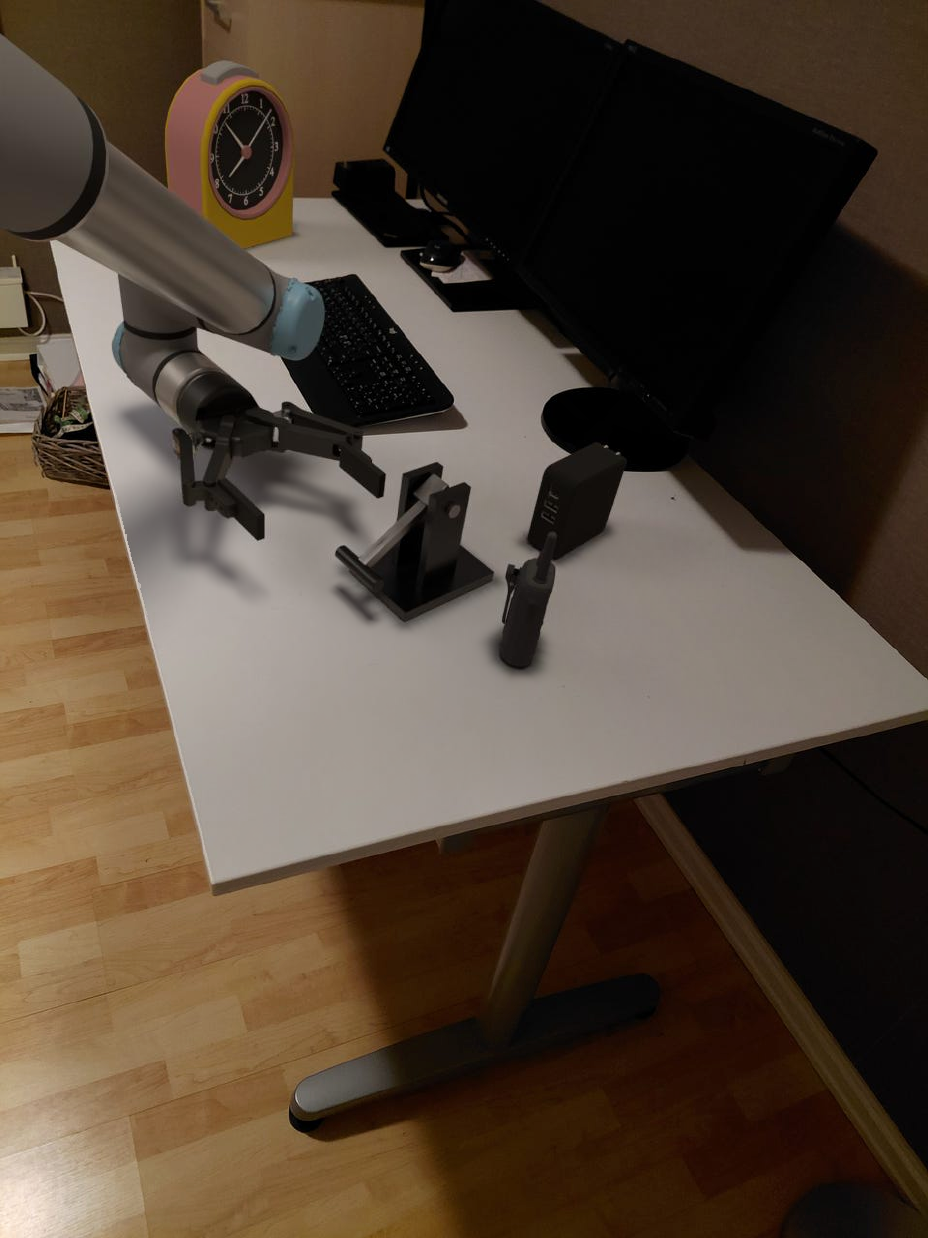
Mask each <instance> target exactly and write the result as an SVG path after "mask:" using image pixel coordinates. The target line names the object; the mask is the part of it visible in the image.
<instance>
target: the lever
mask: <svg viewBox="0 0 928 1238" xmlns="http://www.w3.org/2000/svg"><path fill="white" fill-rule="evenodd" d="M449 487H450V485H449V484H448V483H447V482H446V481H444V479H440V478H439V477H438V476H436V475H435V474H433V475H432V476H431V477H429V478H428V479H427V480H426V481H425V482H424V483H423V484H422V485H421V486H420V487H419V488H418V489H417V490H416V491H415V492H414V493H413V494H414V496H415V497H416V499H417V501H418V502H417V503H416V504H415V505H414V506H413V507H411V508H410V509H409V510H408V511H407V512H406V513H405V514H404V515H403V516H402V517H401V518H400V519H399V520H398V521H397V520H396V521H395V523H394V524H392V526H391V527H390V528H388V530H386V531H385V532H384V533H383V534H382V535H381V536H380V537H379V538H378V539H377V540H376V541H375V542H374V543H373V544H371V546H370V547H369V548H368V549H367V550H366V551H365V552H364V553H363V554H362V555H361V556H358V555H357V554H356V553H355V552H354V551H352V549H350V548H349V547H348V546H347V545H345V544H342V545H340V546H339V547H337V548H336V549H335V551H334V557H335V558H336V559H337V560H339V561H340V562H341V563H342V564H343V565H344V566H345V567H346V568H347V569H348V570H349V569H350V570H351V571H352V572H353V573H354V574H355V575H356V576H357V577H358V578H359V579H361V580H362V581H363V582H364V583H365V584H366V585H367V586H368V587H369V588H370V589H372V590H373V591H374V592H378V591H380V590H381V589H382V588H383V587H384V585H385V581H384V579H383V578H381V577H380V576H379V575H378V574H377V573H376V572H375V571H374V570H372V569H371V567H372V566H373V565H374V564H375V563H376V562H378V561H379V560H380V559H381V558H382V557H383V556H384V555H385V554H386V553H387V552H388V551H389V550H390V549H391V548H392V547H393V546H394V545H395V544H396V543H397V542H398V541H399V540H400V539H401V538H402V537H403V536H404V535H405V534H406V533H407V532H408V531H409V530H411V529H412V528H413V527H414V526H415V525H416V524H417V523H418V522H419V521H420V520H421V519H422V518H423V517H424V516H425V515H426V514H427V509H428V503H429V496H430V494H433V493H436V492H438V491H441V490H444V489H446V488H449Z"/></svg>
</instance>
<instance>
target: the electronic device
mask: <svg viewBox="0 0 928 1238" xmlns="http://www.w3.org/2000/svg"><path fill="white" fill-rule="evenodd" d="M627 462H628V460H627V458H626V457H625V456H623V455H621V452H619V451H618V452H615V451H614V450H612V449H610V448H609V446H608V445H607V444H606V445H603V444H601V443H600V442H598V441H596V442H593V443H590V444H588V445H586V446H585V447H583V448H580V449H579V450H577V451H575V452H572V453H571V454H568V455H566V456H565V457H563V458H561V459H557V460H556V461H554V462H552V463H551V464H549V465H548V466H547V467H546V468H545V470H544V471H543V474H542V477H541V481H540V485H539V489H538V493H537V498H536V501H535V505H534V509H533V513H532V517H531V521H530V524H529V529H528V533H527V538H526V539H527V541H528V542H529V543H531V544H533V545H534V546H535V547H537V548H539V549H540V550H541V551H543V548H544V545H545V542H546V539H547V536H548V534H549V533H550V532H555V533H556V535H557V538H556V543H555V547H554V551H553V556H552V558H554V559H555V560H556V559H560V558H561V557H563V556H564V555H565V554H567V553H569V552H571V551H573V550H574V549H575V548H577V547H579V546H580V545H582V544H584V543H585V542H587V541H588V540H591V539H592V538H594V537H595V536H597V535H599V534H601V533H602V532H603V531H604V529H605V528H606V526H607V523H608V521H609V519H610V515H611V513H612V509H613V505H614V502H615V500H616V496H617V493H618V490H619V487H620V485H621V483H622V482H621V481H622V478H623V475H624V473H625V470H626V466H627Z"/></svg>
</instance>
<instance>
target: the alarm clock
mask: <svg viewBox="0 0 928 1238" xmlns="http://www.w3.org/2000/svg"><path fill="white" fill-rule="evenodd" d="M166 117H167V118H166V121H165V128H164V133H165V134H164V151H165V152H164V153H165V166H166V181H167V188H168V189H169V190H170V191H171V192H173V193H174V194H175V195H177V196H178V197H179V198H180V199H182V200H183V201H184V202H185V203H187V204H188V205H189V206H190V207H192V208H193V209H194V210H195V211H197V212H198V213H199V214H201V215H202V216H203V217H204V218H206V219H207V220H208V221H209V222H211V223H212V224H213V225H214V226H216V227H217V228H218V229H219V230H221V231H222V232H223V233H225V234H226V235H227V236H228V237H230V238H231V239H232V240H233V241H235V242H236V243H237V244H238V245H240V246H241V247H242V248H244V249H247V248H251V247H254V246H258V245H261V244H264V243H269V242H273V241H277V240H280V239H284V238H288V237H291V236H293V230H294V229H293V225H294V223H293V222H294V174H295V173H294V171H295V140H294V139H295V138H294V128H293V124H292V120H291V115H290V112H289V110H288V108H287V106H286V104H285V101H284V100H283V97H282V96H280V94H279V93H278V92H277V90H275V88H274V87H273V86H272V85H270V84H268V83H267V82H265V81H263V80H261V79H260V74H259V73H258V72H257V71H256V70H254V69H253V68H251V67H249V66H245V65H244V64H240V63H237V62H235V61H231V60H225V59H224V60H223V59H222V60H217V61H215V62H213V63H211V64H209V65H208V66H206V67H204V68H201V69H198V70H197V71H194V73H192V74H191V75H189V76H188V77H187V78H186V79H185V80H184V81H183V83H182V84H181V85H180V87H179V88H178V90H176V92H175V94H174V97H173V99H172V102H171V103H170V106H169V108H168V112H167V116H166Z"/></svg>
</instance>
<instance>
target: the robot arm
mask: <svg viewBox="0 0 928 1238" xmlns="http://www.w3.org/2000/svg"><path fill="white" fill-rule="evenodd" d="M0 228H1V229H2V230H5V231H7V232H8V233H10V234H12V235H13V236H15V237H18V238H20V239H23V240H27V241H30V242H37V243H38V242H39V243H42V242H43V243H44V242H51V241H57V242H59V243H60V244H63V245H65V246H67V247H68V248H70V249H72V250H74V251H76V253H79V254H81V255H83V256H85V257H87V258H88V259H90V260H92V261H94V262H96V263H97V264H100V265H101V266H103V267H105V268H107V269H108V270H111V271H112V272H114V273H116V274H117V280H118V281H117V282H118V289H119V296H120V304H121V312H122V318H123V321H122V322H120V324H119V325H118V326H117V328H116V330H115V333H114V336H113V338H112V341H111V351H112V352H111V353H112V356H113V358H114V361H115V363H116V365H117V366H118V368H119V369H121V370H122V372H123V373H124V374H125V375H126V378H127V379H128V380H129V381H130V383H132V384H133V386H136V387H137V389H140V390H141V391H142V392H143V393H144V394H145V395H147V397H149V399H151V401H153V402H154V403H155V404H156V405H158V407H160V408H161V409H162V410H163V411H164V412H165V413H166V414H167V415H168V416H169V417H170V418H172V420H174V421H175V422H176V423H177V424H178V425H179V426H180V427H174V428H173V429H172V430H171V436H172V437H171V438H172V448H173V454H174V456H175V457H176V458H177V460H179V465H180V466H179V467H180V485H181V496H182V504H183V505H184V506H186V507H193V506H195V505H197V502H203V503H204V509H205V511H208V512H215V511H217V512H218V513H219V514H220V515H221V516H222V517H223V518H225V519H231V518H233V519H234V520H235V521H236V522H237V523H239V525H241V527H242V528H244V529H245V531H246V532H248V534H250V536H251V537H253V538H254V540H255V541H256V542H258V541H261V540H264V539H266V532H265V531H266V513H264V512H263V511H262V510H261V509H260V508H259V507H258V506H257V505H256V504H255V503H254V502H252V500H250V499H249V497H248V496H246V495H245V494H244V493H243V492H242V491H241V490H240V489H239V488H238V487H237V486H236V485H235V484H234V483H233V482H231V481H230V480H229V479H228V478H227V474H228V471H229V469H231V467H232V464H233V461H234V457H241V458H242V459H243V458H244V459H245V458H247V457H250V456H251V455H254V454H259V453H265V452H267V451H270V452H274V453H277V454H278V453H279V454H284V453H285V452H286V451H289V452H293V453H299V454H302V455H303V454H304V455H308V456H311V457H312V456H313V457H317V458H322V459H327V460H332V461H336V462H339V465H338V467H339V468H340V469H341V471H343V472H345V473H346V474H347V475H348V476H349V477H351V478H352V479H353V480H354V481H356V483H358V484H359V485H360V486H361V487H363V488H364V489H365V490H366V491H368V493H370V494H371V495H372V496H374V497H375V498H376V499H377V500H378V499H381V498H383V497H385V489H386V488H385V487H386V478H387V473H386V472H385V471H383V470H382V469H381V468H380V467H379V466H378V465H376V464H375V463H373V458H372V457H371V456H370V455H368V454H367V453H366V452H365V451H363V442H364V441H363V440H364V431H363V430H362V429H360V428H357V427H353V426H351V425H348V424H345V423H342V422H339V421H336V420H334V419H331V418H328V417H325V416H322V415H320V414H317V413H314V412H311V411H307V410H306V409H302V408H301V407H299V406H298V405H296V404H294V403H293V402H291V401H282V402H281V409H280V410H277V411H273V412H272V411H270V410H267V409H265V408H263V407H260V405H259V404H258V402H257V401H256V399H255V397H254V396H253V394H252V393H251V392H250V391H249V390H248V389H247V388H246V387H244V386H243V385H242V384H241V383H239V381H238V380H236V379H235V378H234V377H232V376H231V375H230V373H228V372H227V371H226V370H224V369H223V368H222V367H220V366H219V365H218V364H217V363H216V362H214V361H213V360H211V358H209V356H207V355H206V354H204V353H203V352H202V351H201V350H200V349H199V345H198V344H199V343H198V342H199V341H198V329H200V330H202V331H205V332H208V333H210V334H213V335H218V336H221V337H223V338H226V339H229V340H231V341H235V342H237V343H240V344H243V345H246V346H248V347H251V348H253V349H257V350H259V351H262V352H264V353H267V354H269V355H270V356H273V357H280V358H284V359H286V360H290V361H301V360H303V359H306V358H307V357H308V356H310V355H311V353H312V352H313V351H314V350H315V348H316V346H317V345H318V342H319V340H320V337H321V334H322V331H323V329H324V323H325V314H326V313H325V311H326V310H325V304H324V300H323V297H322V295H321V293H320V291H319V290H318V289H317V288H315V287H314V286H312V285H310V284H306V283H304V282H302V281H299V279H297V278H296V277H292V278H291V277H288V276H284V275H282V274H280V273H278V272H276V271H274V270H273V269H271V268H270V266H267V264H265V263H263V262H262V261H261V260H260V259H258V258H256V257H255V256H254V255H252V254H251V252H249V251H248V250H246V248H242V247H241V246H240V245H238V244H237V243H236V242H235V241H233V240H232V239H231V238H230V237H228V236H227V235H226V234H225V233H223V232H222V231H221V230H219V229H218V228H217V227H216V226H214V225H213V224H212V223H211V222H209V221H208V220H207V219H206V218H204V217H203V216H202V215H201V214H199V213H198V212H197V211H195V210H194V209H193V208H192V207H190V206H189V205H188V204H187V203H185V202H184V201H183V200H182V199H180V198H179V197H178V196H177V195H175V194H174V193H173V192H171V191H170V190H169V189H168V187H166V186H165V185H164V184H162V182H161V181H159V180H158V179H156V177H154V176H153V175H151V174H150V173H149V172H148V171H147V170H145V169H144V168H143V167H141V166H140V165H139V164H137V163H136V162H135V161H134V160H133V159H131V157H129V156H127V155H126V154H125V153H123V152H122V150H120V149H118V148H117V147H116V146H115V145H113V143H111V142H110V141H109V140H108V139H107V135H106V132H105V129H104V127H103V125H102V122H101V121H100V119H99V117H98V116H97V114H96V113H95V111H94V110H93V109H92V108H91V107H90V106H89V104H87V103H86V102H85V101H84V100H83V99H82V98H80V97H79V96H78V95H76V94H75V93H74V92H73V91H72V90H71V89H70V88H68V87H67V86H66V85H65V84H63V83H62V82H61V81H60V80H59V79H57V77H56V76H54V75H52V74H51V73H50V72H49V71H48V70H47V69H45V68H44V67H42V65H40V64H39V63H37V62H36V61H35V60H34V59H33V58H32V57H30V56H29V55H28V54H26V53H25V52H24V51H23V50H22V49H20V48H19V47H18V46H16V45H15V44H14V43H13V42H12V41H10V40H9V39H8V38H7V37H5V36H4V35H3V34H2V33H0ZM276 429H277V430H278V431H277V433H278V434H277V437H278V438H277V441H276V440H274V439H275V432H276V431H275V430H276ZM199 446H201V448H203V449H204V450H209V451H212V453H211V455H210V458H209V461H208V464H207V465H206V466H207V467H206V469H205V471H204V474H203V477H202V480H196V476H195V464H194V463H195V462H194V461H195V459H194V457H195V456H196V452H198V450H199Z"/></svg>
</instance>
